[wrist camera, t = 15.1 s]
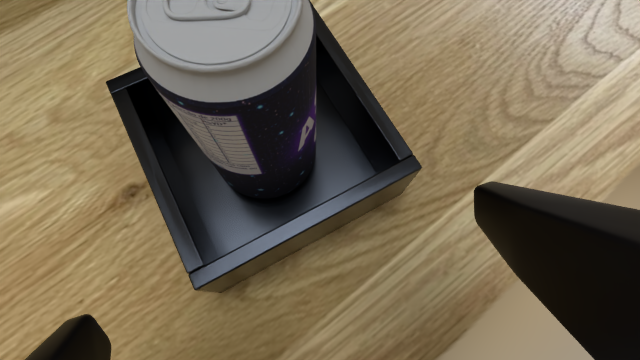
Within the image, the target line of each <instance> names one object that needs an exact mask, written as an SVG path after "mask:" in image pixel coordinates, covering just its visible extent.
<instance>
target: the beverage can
mask: <svg viewBox="0 0 640 360" xmlns="http://www.w3.org/2000/svg"><path fill="white" fill-rule="evenodd" d="M127 12H128V19H129V23H130V26H131V29H132V31H133V33H134V47H135V53H136V57H137V60H138V62H139V64H140V67H141V68H142V70H143V72H144V73H145V75H146V76H147V78H148V79H149V80H150V82H151V83H152V84H153V86H154V87H155V88H156V90H157V91H158V92H159V94H160V95H161V96H162V98H163V99H164V100H165V102H166V103H167V104H168V106H169V107H170V108H171V110H172V111H173V112H174V114H175V115H176V116H177V118H178V119H179V120H180V122H181V123H182V124H183V126H184V127H185V128H186V130H187V131H188V132H189V134H190V135H191V136H192V138H193V139H194V140H195V142H196V143H197V144H198V146H199V147H200V148H201V150H202V151H203V152H204V154H205V155H206V156H207V158H208V159H209V160H210V162H211V163H212V164H213V166H214V167H215V168H216V170H217V171H218V172H219V174H220V175H221V176H222V178H223V179H224V180H225V181H226V183H227V184H228V185H229V186H230V187H232V188H233V189H234V190H236V191H237V192H239V193H241V194H243V195H246V196H249V197H253V198H261V199H267V198H275V197H279V196H282V195H284V194H287V193H289V192H291V191H292V190H294V189H295V188H297V187H298V186H299V185H300V184H301V183H302V182H303V181H304V180H305V179H306V178H307V176H308V175H309V173H310V172H311V170H312V167H313V165H314V161H315V156H316V20H315V15H314V11H313V8H312V6H311V3H310V1H309V0H128V1H127Z"/></svg>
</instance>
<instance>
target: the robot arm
mask: <svg viewBox="0 0 640 360" xmlns="http://www.w3.org/2000/svg"><path fill="white" fill-rule="evenodd" d="M474 215H475V219H476V222H477V224H478V225H479V227H480V228H481V229H482V231H483V232H484V233H485V235H486V236H487V237H488V239H489V240H490V241H491V243H492V244H493V245H494V247H495V248H496V249H497V251H498V252H499V253H500V255H501V256H502V257H503V259H504V260H505V261H506V263H507V264H508V265H509V267H510V268H511V269H512V270H513V272H514V273H515V274H516V275H517V276H518V277H519V279H520V280H521V281H522V282H523V283H524V284H525V285H526V286H527V287H528V288H529V289H530V291H531V292H533V294H534V295H535V296H536V297H537V298H538V299H539V300H540V301H541V302H542V303H543V305H544V306H545V307H546V308H547V309H548V310H549V311H550V312H551V313H552V314H553V315H554V316H555V317H556V318H557V320H558V321H559V322H560V323H561V324H562V325H563V326H564V327H565V328H566V329H567V330H568V331H569V332H570V334H571V335H572V336H573V337H574V338H575V339H576V340H577V341H578V342H579V343H580V344H581V345H582V346H583V348H584V349H585V350H586V351H587V352H588V353H589V354H590V355H591V356H592V357H593V358H594V359H595V360H640V210H637V209H632V208H627V207H621V206H616V205H611V204H606V203H601V202H596V201H591V200H586V199H580V198H575V197H570V196H565V195H560V194H555V193H549V192H544V191H539V190H534V189H529V188H524V187H518V186H513V185H508V184H503V183H498V182H488V183H485V184H482V185H479V186H477V187H476V188H475V190H474ZM110 357H111V343H110V340H109V338H108V337H107V335H106V334H105V332H104V331H103V330H102V328H101V327H100V326H99V324H98V323H97V321H96V320H95V319H94V318H93V317H92V316H91V315H89V314H84V315H81V316H78V317H75V318H72V319H69V320H67V321H66V322H64V323H63V324H62V325H61V326H60V327H59V328H58V329H57V330H56V331H55V332H54V333H53V334H52V335H51V336H49V337H48V338H47V339H46V340H45V341H44V342H43V343H42V344H41V345H40V346H39V347H38V348H37V349H36V350H34V351H33V352H32V353H31V354H30V355H29V356H28V357H27V358H26V359H25V360H110Z"/></svg>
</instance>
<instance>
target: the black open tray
mask: <svg viewBox="0 0 640 360" xmlns="http://www.w3.org/2000/svg"><path fill="white" fill-rule="evenodd" d="M309 1H310V0H309ZM310 3H311V2H310ZM311 6H312V8H313V11H314V15H315V20H316V156H315V161H314V165H313V167H312V170H311V172H310V173H309V175H308V176H307V178H306V179H305V180H304V181H303V182H302V183H301V184H300V185H299V186H298V187H297V188H295V189H294V190H292V191H291V192H289V193H287V194H284V195H282V196H279V197H275V198H267V199H261V198H253V197H249V196H246V195H243V194H241V193H239V192H237V191H236V190H234V189H233V188H232V187H230V186H229V185H228V184H227V183H226V181H225V180H224V179H223V178H222V176H221V175H220V174H219V172H218V171H217V170H216V168H215V167H214V166H213V164H212V163H211V162H210V160H209V159H208V158H207V156H206V155H205V154H204V152H203V151H202V150H201V148H200V147H199V146H198V144H197V143H196V142H195V140H194V139H193V138H192V136H191V135H190V134H189V132H188V131H187V130H186V128H185V127H184V126H183V124H182V123H181V122H180V120H179V119H178V118H177V116H176V115H175V114H174V112H173V111H172V110H171V108H170V107H169V106H168V104H167V103H166V102H165V100H164V99H163V98H162V96H161V95H160V94H159V92H158V91H157V90H156V88H155V87H154V86H153V84H152V83H151V82H150V80H149V79H148V78H147V76H146V75H145V73H144V72H143V70H142V68H141V67H140V68H137V69H135V70H133V71H130V72H128V73H125V74H123V75H121V76H118V77H116V78H114V79H111V80H109V81H107V82H106V84H107V86H108V89H109V91H110V93H111V95H112V98H113V100H114V103H115V105H116V107H117V110H118V112H119V114H120V117H121V119H122V121H123V124H124V126H125V128H126V131H127V133H128V135H129V138H130V140H131V142H132V145H133V147H134V150H135V152H136V154H137V157H138V159H139V161H140V164H141V166H142V168H143V171H144V173H145V175H146V178H147V180H148V182H149V185H150V187H151V189H152V192H153V194H154V196H155V199H156V201H157V204H158V206H159V208H160V211H161V213H162V215H163V218H164V220H165V222H166V225H167V227H168V229H169V232H170V234H171V236H172V239H173V241H174V243H175V246H176V248H177V251H178V253H179V255H180V258H181V260H182V262H183V265H184V267H185V269H186V272H187V273H188V274H189V278H190V281H191V283H192V285H193V288H194V290H197V291H209V292H219V293H222V292H224V291H226V290H227V289H229V288H231V287H233V286H235V285H236V284H238V283H240V282H242V281H244V280H246V279H247V278H249V277H251V276H253V275H255V274H257V273H258V272H260V271H262V270H264V269H266V268H267V267H269V266H271V265H273V264H275V263H277V262H278V261H280V260H282V259H284V258H286V257H288V256H289V255H291V254H293V253H295V252H297V251H298V250H300V249H302V248H304V247H306V246H308V245H309V244H311V243H313V242H315V241H317V240H319V239H320V238H322V237H324V236H326V235H328V234H329V233H331V232H333V231H335V230H337V229H339V228H340V227H342V226H344V225H346V224H348V223H350V222H351V221H353V220H355V219H357V218H359V217H360V216H362V215H364V214H366V213H368V212H370V211H371V210H373V209H375V208H377V207H379V206H380V205H382V204H384V203H386V202H388V201H390V200H391V199H393V198H395V197H397V196H399V195H401V194H402V193H403V191H404V190H405V188H406V187H407V186H408V185H409V183H410V182H411V181H412V180H413V178H414V177H415V176H416V175H417V173H418V172H419V171H420V170H421V168H422V166H421V165H420V163H419V162H418V160H417V159H416V157H415V156H414V155H413V153H412V151H411V150H410V148H409V147H408V145H407V144H406V142H405V141H404V139H403V138H402V137H401V135H400V134H399V132H398V131H397V129H396V128H395V126H394V125H393V123H392V122H391V120H390V119H389V117H388V116H387V114H386V113H385V111H384V110H383V108H382V107H381V105H380V104H379V103H378V101H377V100H376V98H375V97H374V95H373V94H372V92H371V91H370V89H369V88H368V86H367V85H366V83H365V82H364V80H363V79H362V77H361V76H360V74H359V73H358V71H357V70H356V69H355V67H354V66H353V64H352V63H351V61H350V60H349V58H348V57H347V55H346V54H345V52H344V51H343V49H342V48H341V46H340V45H339V43H338V42H337V40H336V39H335V37H334V36H333V35H332V33H331V32H330V30H329V29H328V27H327V26H326V24H325V23H324V21H323V20H322V18H321V17H320V15H319V14H318V12H317V11H316V9H315V8H314V6H313V5H312V3H311Z"/></svg>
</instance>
